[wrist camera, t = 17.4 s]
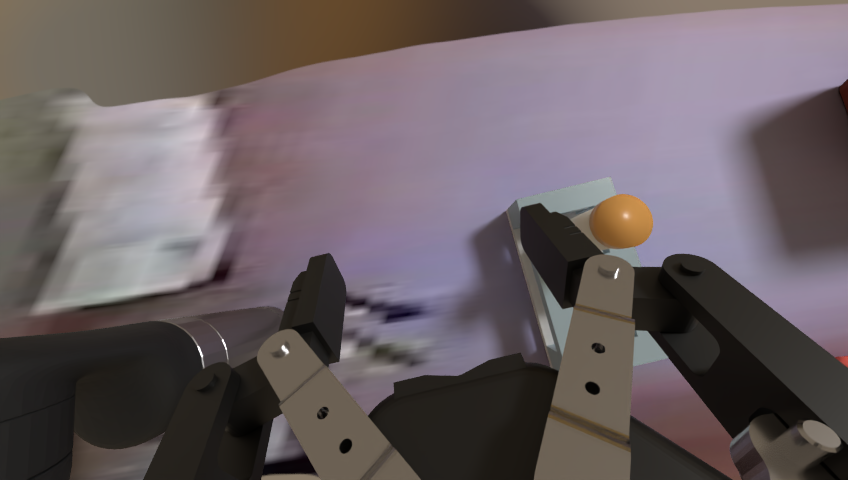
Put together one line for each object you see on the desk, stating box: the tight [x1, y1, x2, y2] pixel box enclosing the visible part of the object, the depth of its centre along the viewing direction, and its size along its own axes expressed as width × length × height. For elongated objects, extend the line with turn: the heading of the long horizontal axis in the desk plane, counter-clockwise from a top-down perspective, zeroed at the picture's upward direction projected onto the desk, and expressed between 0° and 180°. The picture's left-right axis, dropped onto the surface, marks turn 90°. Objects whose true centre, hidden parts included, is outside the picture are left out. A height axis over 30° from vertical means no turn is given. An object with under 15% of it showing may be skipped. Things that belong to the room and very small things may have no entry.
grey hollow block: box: [506, 177, 668, 371], centre depth 39 cm, size 22×12×6 cm, turn 13°
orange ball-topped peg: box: [570, 194, 653, 250], centre depth 35 cm, size 5×5×14 cm
